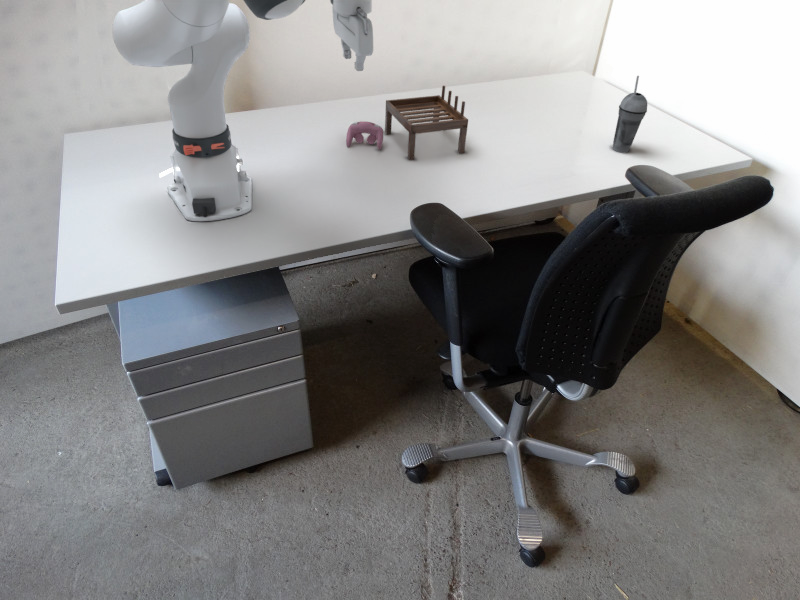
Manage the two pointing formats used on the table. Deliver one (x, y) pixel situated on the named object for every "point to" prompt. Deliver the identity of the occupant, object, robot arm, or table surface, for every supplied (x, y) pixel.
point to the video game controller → (365, 127)
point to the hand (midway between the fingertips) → (353, 63)
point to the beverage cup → (629, 120)
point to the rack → (427, 117)
